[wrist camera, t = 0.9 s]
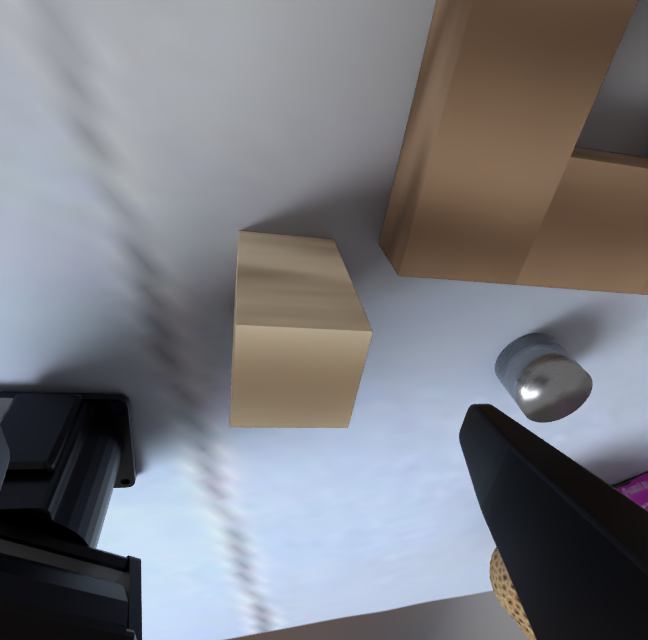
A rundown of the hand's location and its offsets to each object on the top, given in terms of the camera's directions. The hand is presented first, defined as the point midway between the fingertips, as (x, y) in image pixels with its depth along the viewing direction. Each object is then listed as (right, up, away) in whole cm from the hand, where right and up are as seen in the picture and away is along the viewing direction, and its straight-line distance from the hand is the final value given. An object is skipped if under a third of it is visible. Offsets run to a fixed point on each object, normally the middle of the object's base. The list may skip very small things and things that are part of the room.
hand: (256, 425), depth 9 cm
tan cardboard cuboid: (0, +4, +11) cm, 12 cm away
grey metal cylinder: (+13, 0, +16) cm, 20 cm away
